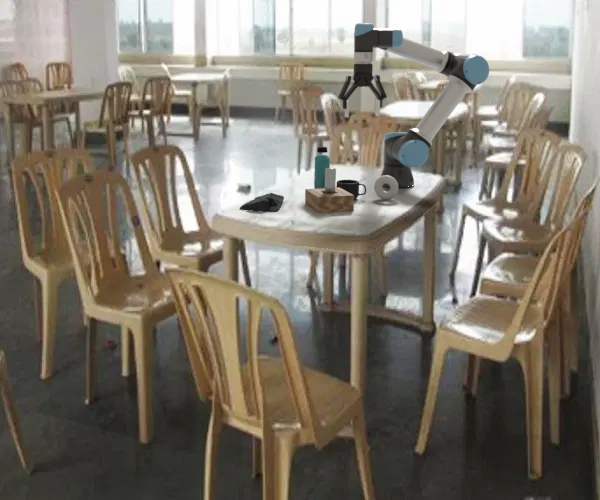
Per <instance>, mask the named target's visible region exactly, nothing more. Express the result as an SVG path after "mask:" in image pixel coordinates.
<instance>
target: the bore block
mask: <svg viewBox="0 0 600 500" xmlns="http://www.w3.org/2000/svg"><path fill="white" fill-rule="evenodd" d="M324 193H325V188H319V189H315V188H305V195H304V199H305V201H304V204H305V205H306V206H307V207H308V208H310V209H311V210H313V211H315V212H316V213H317V214H323V213H325V214H326V213H327V214H329V213H341V212H353V211H355V210H354V209H355V208H354V207H355V199H354V195H353V194H351V193H349V192H347V191H345V190H343V189H341V188H339V187H338V188H336V187H335V193H333V194H324Z"/></svg>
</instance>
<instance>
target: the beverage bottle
mask: <svg viewBox="0 0 600 500" xmlns="http://www.w3.org/2000/svg"><path fill="white" fill-rule="evenodd" d="M316 149H317V150H316V152H317V153H321V154H317V155H316V156H315V157H314V173H313V174H314V177H313V179H314V181H313V185H314V186H313V188H314V189H319V188H325V169H326V168H331V162H330V161H331V160H330V159H331V157H330V156H329V155H328V154H325V153H328V147H327V146H317V148H316ZM322 153H323V154H322Z"/></svg>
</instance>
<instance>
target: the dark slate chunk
mask: <svg viewBox="0 0 600 500" xmlns="http://www.w3.org/2000/svg"><path fill="white" fill-rule="evenodd" d="M253 199H254V200H253ZM253 199H251V200H249V201H246V202H245V203H244V204H243V205H241V206H240V207H239V210H242V209H243V210H242V211H245V210H253V211H252V212H258V211H262V212H264V213H267V212H269V213H272V212H276V213H277V212H279V210H280V208H281V207H282V205H283V202H284V200H285V195H280V194H276V193H272V192H271V193H270V192H269V193H266V194H261V195H259V196H257V197H255V198H253ZM262 212H261V213H262Z"/></svg>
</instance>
